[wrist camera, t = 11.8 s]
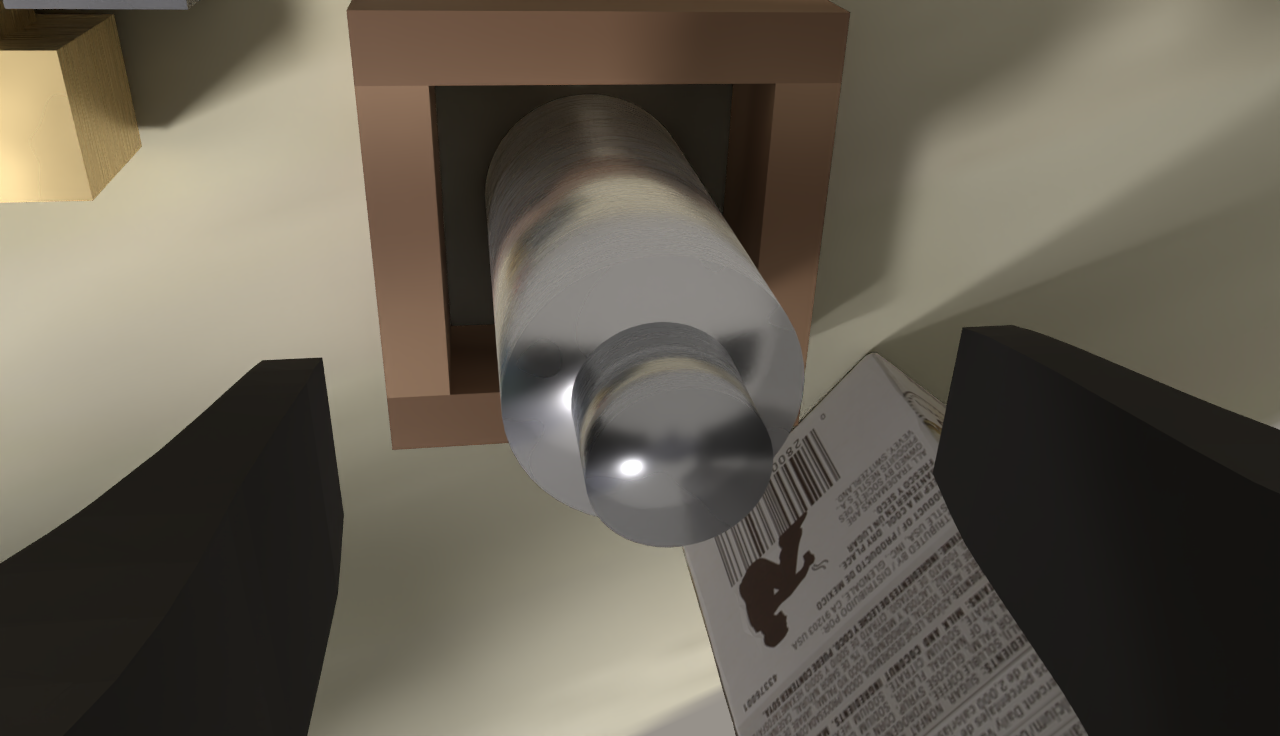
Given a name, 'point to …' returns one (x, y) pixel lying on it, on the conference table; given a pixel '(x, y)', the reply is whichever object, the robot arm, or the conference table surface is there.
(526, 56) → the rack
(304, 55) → the conference table surface
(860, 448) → the coffee box
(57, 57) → the key
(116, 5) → the block
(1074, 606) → the robot arm
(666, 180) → the silver knobbed cylinder
